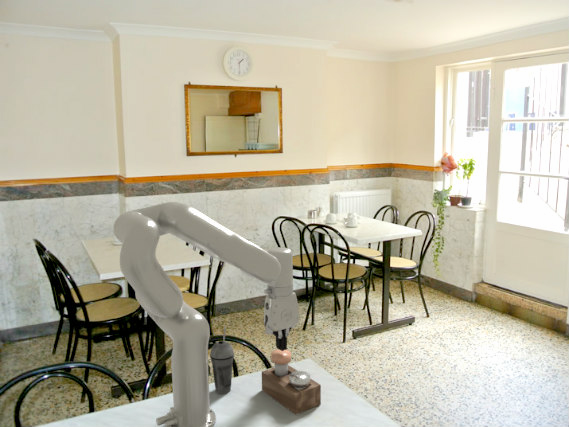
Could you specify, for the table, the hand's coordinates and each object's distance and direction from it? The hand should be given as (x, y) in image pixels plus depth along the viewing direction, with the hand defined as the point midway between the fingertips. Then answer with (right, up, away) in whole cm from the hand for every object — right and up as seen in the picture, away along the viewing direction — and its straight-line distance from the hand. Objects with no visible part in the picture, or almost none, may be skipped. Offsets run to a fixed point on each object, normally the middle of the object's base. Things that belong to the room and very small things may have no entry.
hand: (281, 348), depth 148 cm
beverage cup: (-18, -14, +3) cm, 23 cm away
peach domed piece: (0, -9, +1) cm, 9 cm away
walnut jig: (+3, -14, -2) cm, 14 cm away
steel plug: (+5, -13, -5) cm, 15 cm away
